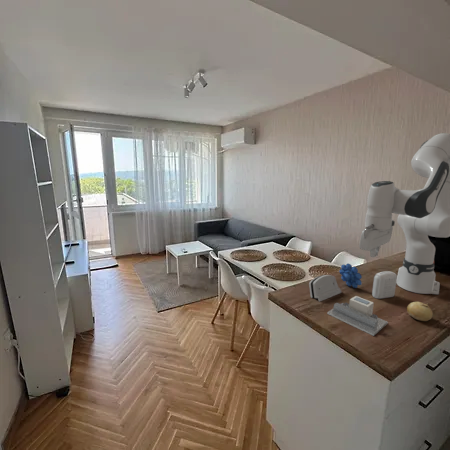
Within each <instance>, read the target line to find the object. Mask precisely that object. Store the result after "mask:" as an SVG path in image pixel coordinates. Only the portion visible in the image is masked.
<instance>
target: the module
mask: <svg viewBox="0 0 450 450" xmlns="http://www.w3.org/2000/svg"><path fill="white" fill-rule="evenodd" d="M348 304H349V308H351V309H353V310H356V311H358V312H360V313H363V314H365V315H368V316H371V315H373V314H374V302H373V301H372V300H371V301H370V300H368V299H365V298H362V297H360V296H358V295H355V296H353V297H351V298H350V299H349V302H348Z"/></svg>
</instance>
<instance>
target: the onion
mask: <svg viewBox="0 0 450 450" xmlns="http://www.w3.org/2000/svg"><path fill="white" fill-rule="evenodd" d="M428 304H429V303H428V302H427V303H423V302H421V301H413V302H410V303H409V304H408V305H407V306H406V311H407V314H408V315H409V317H411V318H413V319H415V320H417V321H420V322H428V321H430V320H431V319H432V318H433V315H434V313H433V310H432V309H431V307H430V306H429V305H428Z"/></svg>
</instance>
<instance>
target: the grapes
mask: <svg viewBox="0 0 450 450" xmlns="http://www.w3.org/2000/svg"><path fill="white" fill-rule="evenodd" d="M338 272H339V274H340V275H341V277H340V278H341V280H342V281H343V282H345V285H346V286H347V287H352V288H353V289H357V288H358V286H361V285H362V283H363V282H362V280H361V279H362V277H363V276H362V274H361V273H360V272H359V269H358V268H357V267H356V266H353V265H352V264H351V263H346V264H341V265H340V269H339V271H338Z"/></svg>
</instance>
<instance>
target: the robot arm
mask: <svg viewBox="0 0 450 450" xmlns="http://www.w3.org/2000/svg"><path fill="white" fill-rule="evenodd" d="M410 166H411V169H412V171H414V173H415V174H417V175H418V176H420V177H422V178H427V180H426V183H425V184H424V187H423V188H420V189H415V190H414V189H412V190H411V189H399V188H398V187H396V186H395V183H394V182H393V181H391V180H383V181H376V182H373V183H372V184H371V185H370V187H369V190H368V193H367V199H366V206H367V208H366V209H367V210H366V212H365V219H364V227H365V229H363V230H362V232H361V234H360V239H359V244H358V245H359V246H358V247H359V249H360V250H363V251H367V252H368V251H369V254H370V255H369V257H370V258H375V257H378V256H379V251H380V249H381V246H383V245H385V244H388V243H389V242H390V241H391V239H392V234H393V227H394V226H395V225H396V223H397V224H398V226H399V227H400V228H401V230H402V232H403V234H404V235H403V236H404V237H405V238H404V239H405V243H406V245H405V253H404V254H405V255H404V258H403V261H402V266H400V267H399V268H398V272H397V281H396V285H397V286H398V287H400V288H402V289H404V290H406V291H408V292H412V293H415V294H426V295H429V294H430V295H431V294H432V295H440V286H441V285H440V284H441V283H440V282H439V281H436V272H435V270H434V269H435V255H436V246H435V245H434V243H433V242H431V240H430V238H429V237H435V238H445V239H446V238H449V237H450V133H447V132H444V133H443V132H441V133H438V134H435V135H433V136H432V137H430V138H429V139H428V140H425V141H424V142H423V143H422V144H421V145H420V147H419V148H418V150H417V151H416V152H415V154H414V155H413V157H412V159H411V161H410ZM393 214H396V215H398V216H397V217H396V221H395V219H393Z"/></svg>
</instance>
